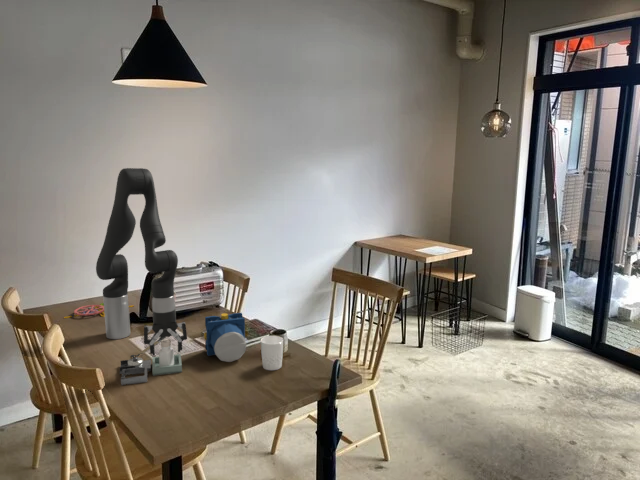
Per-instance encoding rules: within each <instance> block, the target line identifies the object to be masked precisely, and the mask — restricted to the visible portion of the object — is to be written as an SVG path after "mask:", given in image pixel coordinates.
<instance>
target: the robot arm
mask: <svg viewBox="0 0 640 480" xmlns="http://www.w3.org/2000/svg"><path fill="white" fill-rule="evenodd" d="M116 180H117V182H116V187H115V194H114V201H113V205H112V208H111V213H110V216H109V221H108V223H107V228H106V234H105V237H104V240H103V245H102V247H101V250H100V253H98V254H99V255H98V257H97V260H96V264H95V273H96V276H97V278H98V279H100V280H102V281H109V280H112V282H111V283H110V284H108V285H106V286H105V287H104V288H103V289H102V298H103V299H102V300H103V303H104V314H105V317H104V323H105V325H104V326H105V336H106V338H107V339H110V340H120V339H124V338H127V337H129V336H131V321H130V307H129V306H130V305H129V295H128V294H129V292H128V291H129V265H128V260H127V258H126V256H124V255H123V254H121V253H120V254H119V253H118V252H120V251H121V250H122V249H123V248H124V246H126V245H127V244H128V243H129V242H130V241H131V239H132V238H133V235H134V232H135V228H136V223H137V221H136V217H135V215H134V213H133V211H132V210H131V208H130V206H129V203H128V199H129V197H130V196H132V195H143V196H144V201H145V204H144V208H143V211H142V213H141V217H140V220H139V228H140V233H141V236H142V239H143V243H144V244H143V245H144V266H145V269H146V270H147V271H148V272H149V273H150V274H158V273H163V274H162V275H160V276H159V277H157V278H155V279H153V280H152V282H151V290H152V291H151V292H152V300H151V305H152V306H151V309H152V321H153V322H152V323H153V324H152V325H147V324H144V327H143V343H144V345H148V346H150V349H149V352H150V354H152V356H155V354H156V353H155V352H156V351H155V350H156V349H155V346H154V342H155V341H157V340H159V338H160V337H161V338H163V337H166V338H169V337H170V338H171V337H173V338H174V339H175V340H176V341H177V351H178V352H177V353H181V351H182V350H183V342H184V341H186V340H187V339H188V334H187V326H186V325H187V324H186V321H181V322H179V323H178V322H177V313H176V311H177V310H176V300H175V290H174V289H175V288H174V287H175V286H174V285H175V284H174V283H175V278H176V272H177V269H178V263H179V262H178V261H179V259H178V255H177V253H176V252H175V251H174V250H172V249H166V250H160V251H155V249H157V248H159V247H163V246H164V245H165V243H166V241H167V240H166V236H165V232H164V230H163V226H162V223H161V219H160V214H159V208H158V202H157V195H156V194H157V193H156V187H155V182H154V178H153V174H152V172H151V171H150V170H149V169H147V168H142V167H141V168H139V167H138V168H137V167H133V168H132V167H127V168H126V167H125V168H122V169H121V170H119V173H118V176H117V179H116ZM178 328H179V329H180V330H182V335H180V334H179V332H178V331H177V329H178ZM151 331H153V332H154V333H153V335H152V336H151V338H150V339H149V336H148V335H149V333H150V332H151Z"/></svg>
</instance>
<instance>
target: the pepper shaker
mask: <svg viewBox="0 0 640 480" xmlns="http://www.w3.org/2000/svg"><path fill="white" fill-rule="evenodd" d="M171 345H172V343H171V339H170V338H169V339H168V338H164V339H163V340H161V342H160V347H161V348H160V350H158V357H159V365H160V367H162V366H171V365H174V355H175V352H174V348H173V347H171Z"/></svg>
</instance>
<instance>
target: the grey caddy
mask: <svg viewBox="0 0 640 480" xmlns="http://www.w3.org/2000/svg"><path fill="white" fill-rule="evenodd" d="M118 370H119V375H120V374H122V375H121V377H120V384H121V386H127V385H134V384H141V383H142V384H143V383H147V382H148V374H149V372H151V371H152V359H146V360H144V359H143V357H138V356H135V357H133V358H129V359H124V360H120V365H119V369H118ZM148 371H149V372H148ZM130 374H132V375H136V376H131V377H129V376H130ZM138 374H144V375H139V376H137V375H138ZM126 376H128V377H126ZM126 384H127V385H126Z"/></svg>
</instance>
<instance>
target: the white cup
mask: <svg viewBox="0 0 640 480" xmlns="http://www.w3.org/2000/svg"><path fill="white" fill-rule="evenodd" d="M260 350H261V351H260V352H261V359H262V360H261V362H262V368H263V369H264V370H266V371H277V370H279V369H281V368H282V367H283V355H284V338H283V337H282V336H279V335H266V336H263V337H261V339H260Z"/></svg>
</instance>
